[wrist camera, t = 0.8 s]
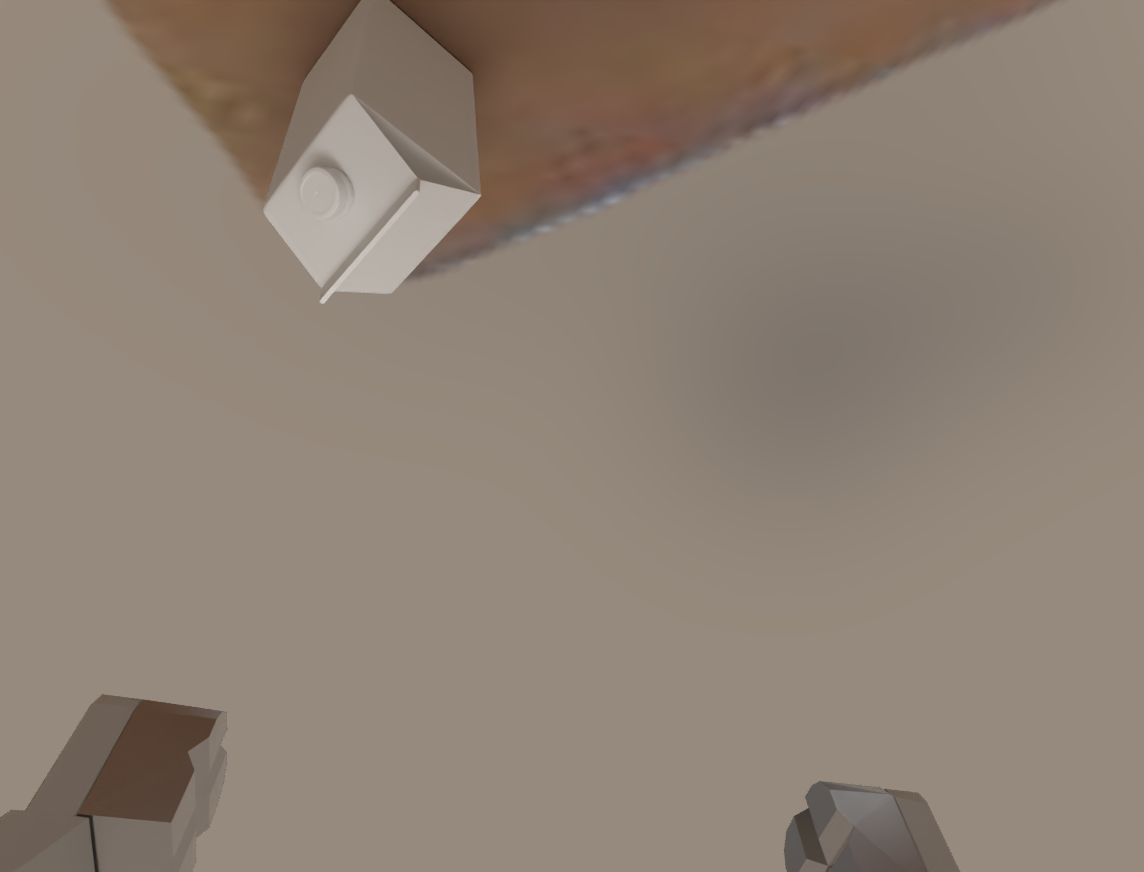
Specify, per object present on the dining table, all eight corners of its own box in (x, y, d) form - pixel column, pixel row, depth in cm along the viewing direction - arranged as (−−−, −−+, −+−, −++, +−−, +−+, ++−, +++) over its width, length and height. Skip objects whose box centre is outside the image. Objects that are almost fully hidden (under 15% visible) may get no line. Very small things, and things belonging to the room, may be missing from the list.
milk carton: (473, 72, 47) (485, 241, 34) (402, 158, 51) (387, 344, 37) (372, -18, 43) (341, 134, 30) (301, 82, 47) (245, 258, 33)
